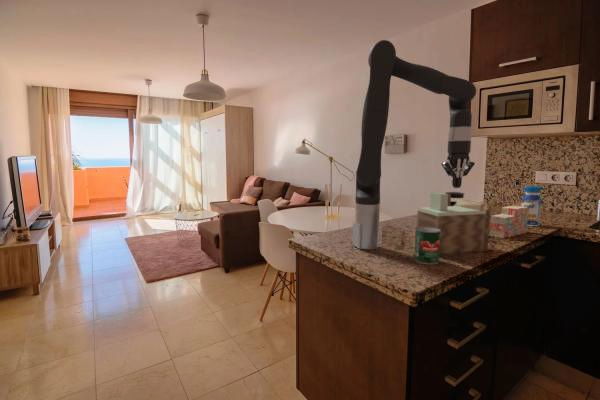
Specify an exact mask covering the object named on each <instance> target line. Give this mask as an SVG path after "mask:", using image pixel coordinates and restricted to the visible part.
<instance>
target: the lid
mask: <svg viewBox="0 0 600 400" xmlns="http://www.w3.org/2000/svg"><path fill="white" fill-rule="evenodd" d="M418 211H420V212H424V213H428V214H431V215H435V216H453V215H472V214H486V210H483V211H480V210H475V209H470V208H465V207H460V206H448V194H445V193H442V192H430V193H429V206H424V207H417V212H418Z"/></svg>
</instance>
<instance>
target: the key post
mask: <svg viewBox="0 0 600 400" xmlns="http://www.w3.org/2000/svg"><path fill="white" fill-rule="evenodd" d="M490 223H491V208H487V210H486V218H485V231H484V245H483V252H485V251H488V247H489V237H490V236H489V234H490Z"/></svg>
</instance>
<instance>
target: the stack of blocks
mask: <svg viewBox="0 0 600 400" xmlns="http://www.w3.org/2000/svg"><path fill="white" fill-rule="evenodd" d="M528 212H529V207H524V206H521V205H508V206H502V207H501V213H499V214H495V215H494V214H493V215H490V225H489V237H493V236H494V238H498V237H499V238H500V239H507V237H508V238H511V236H512V237H515V236H518V235H523V234H526V233H527V232H528V226H527V222H528ZM499 238H498V239H499Z"/></svg>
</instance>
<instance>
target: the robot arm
mask: <svg viewBox="0 0 600 400" xmlns="http://www.w3.org/2000/svg"><path fill="white" fill-rule="evenodd" d="M367 59H368V61H367V62H368V66H369V81H368V87H367V90H366V94H365V98H364V103H363V108H362V116H361V136H360V137H361V138H360V139H361V147H360V148H361V149H360V156H359V159H358V165H357V168H356V171H355V178H356V179H355V214H354V217H355V218H354V221H353V222H352V246H353V245H354V246H353V247H355V246H356V247H357V248H356V247H355V248H356V249H358V248H359V249H358V250H376V249H379V242H380V239H379V237H380V213H381V178H382V151H383V150H382V149H383V145H384V141H385V137H386V131H387V127H388V126H387V125H388V118H389V111H390V109H389V108H390V96H391V95H390V94H391V91H390V89H391V88H390V87H391V78H392V77H396V78H399V79H401V80H404V81H406V82H409V83H411V84H413V85H417V86H418V87H420V88H423V89H425V90H427V91H429V92H432V93H433V94H436V95H446V96H448V107H449V115H450V116H449V129H448V135H447V136H448V139H447V153H448V155H447V159H446V160H445V161H443V162H441V166H442V168H443V170H444V171H445V173H446V174H447V175H448V176H449V177H451V178H452V180H451V181H452V182H451V184H452V187H453V188H454V189H455V188H456V189H459V188H461V187H462V180H463V177H466V176H468V174H469V173H470V172H471V170H472V168H474V166H475V163H476V162H474V161H473V162H472V161H471V159H470V153H471V146H472V118H473V116H472V112H471V111H470V110H469V102H470V101H472V100H473V99H474V98H475V96H476V94H477V87H476V86H475V84H474V83H473V82H472V81H469V80H467V79H465V78H461V77H457V76H452V75H448V74H446V73H444V72H442V71H440V70H437V69H435V68H432V67H430V66H426V65H421V64H416V63H412V62H408V61H406V60H404V59H402V58H400V57H398V56H397V51H396V47H395V45H394V44H393V43H392V42H391V41H389V40H387V39H381V40H379V41H377V42H376V43H374V45H373V46H372V47H371V48H370V51H369V54H368V58H367Z"/></svg>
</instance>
